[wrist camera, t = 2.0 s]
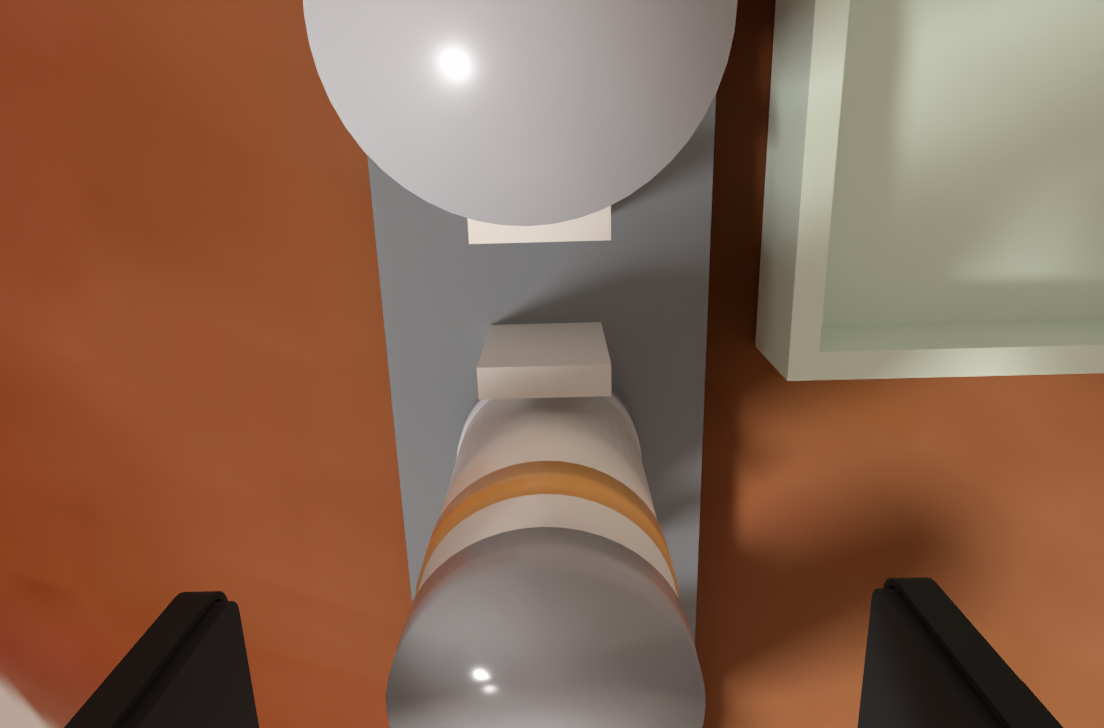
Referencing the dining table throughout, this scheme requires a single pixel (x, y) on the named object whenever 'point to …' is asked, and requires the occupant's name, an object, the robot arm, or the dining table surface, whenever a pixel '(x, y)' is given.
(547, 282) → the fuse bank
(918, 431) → the dining table surface
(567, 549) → the cylinder
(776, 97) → the tray
